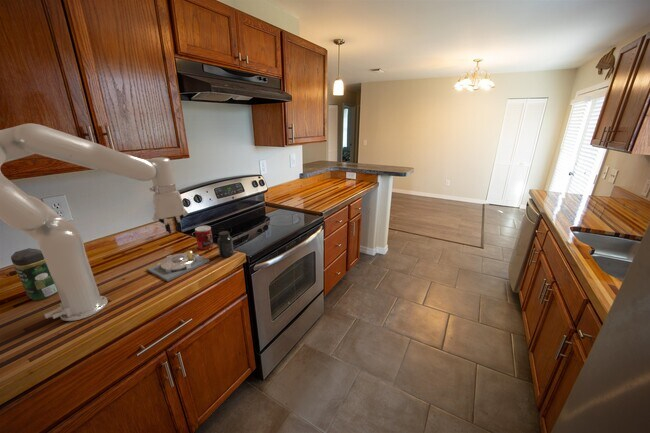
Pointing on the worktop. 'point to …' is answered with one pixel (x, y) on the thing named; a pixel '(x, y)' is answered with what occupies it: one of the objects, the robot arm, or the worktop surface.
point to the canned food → (204, 237)
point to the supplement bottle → (225, 244)
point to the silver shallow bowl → (178, 262)
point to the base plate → (172, 275)
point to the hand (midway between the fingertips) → (174, 231)
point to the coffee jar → (34, 273)
